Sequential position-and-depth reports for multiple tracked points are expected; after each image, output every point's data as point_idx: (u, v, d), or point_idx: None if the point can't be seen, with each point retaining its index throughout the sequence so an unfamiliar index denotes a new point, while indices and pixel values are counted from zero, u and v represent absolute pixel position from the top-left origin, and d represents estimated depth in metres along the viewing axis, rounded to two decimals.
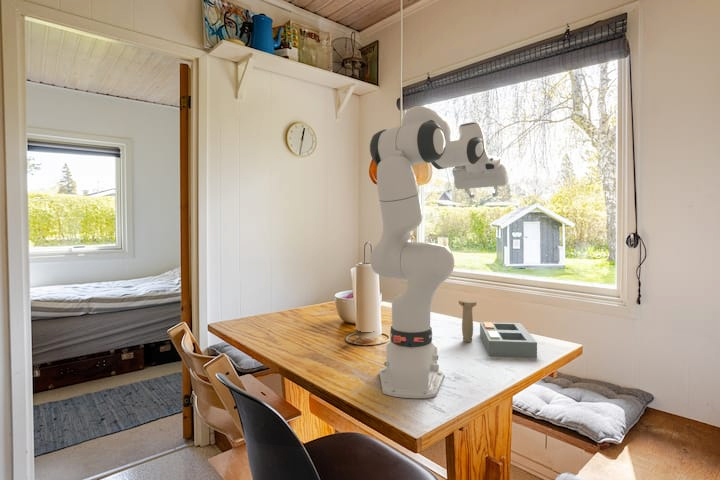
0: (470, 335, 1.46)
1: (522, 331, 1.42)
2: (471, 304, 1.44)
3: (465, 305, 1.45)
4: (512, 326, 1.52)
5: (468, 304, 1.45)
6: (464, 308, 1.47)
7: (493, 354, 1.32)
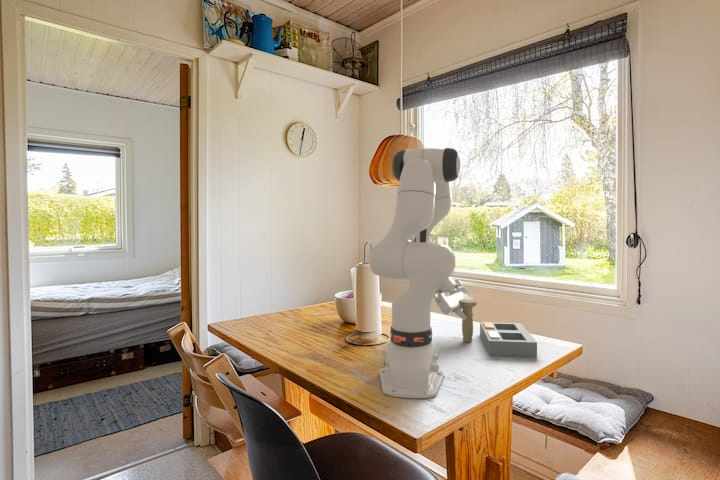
0: (470, 335, 1.46)
1: (522, 331, 1.42)
2: (471, 304, 1.44)
3: (465, 305, 1.45)
4: (512, 326, 1.52)
5: (468, 304, 1.45)
6: (464, 308, 1.47)
7: (493, 354, 1.32)
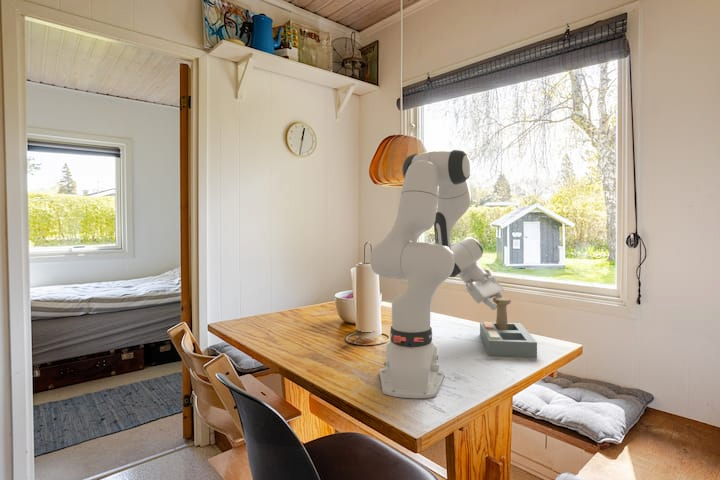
0: None
1: (522, 331, 1.42)
2: (505, 302, 1.47)
3: (499, 303, 1.48)
4: (512, 326, 1.52)
5: (502, 302, 1.48)
6: (498, 306, 1.50)
7: (493, 354, 1.32)
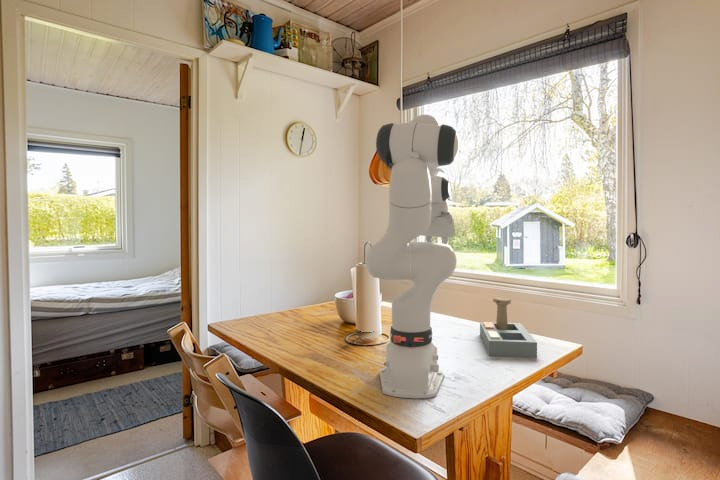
0: None
1: (522, 331, 1.42)
2: (506, 302, 1.47)
3: (500, 303, 1.48)
4: (512, 326, 1.52)
5: (503, 302, 1.48)
6: (498, 306, 1.50)
7: (493, 354, 1.32)
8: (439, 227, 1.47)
